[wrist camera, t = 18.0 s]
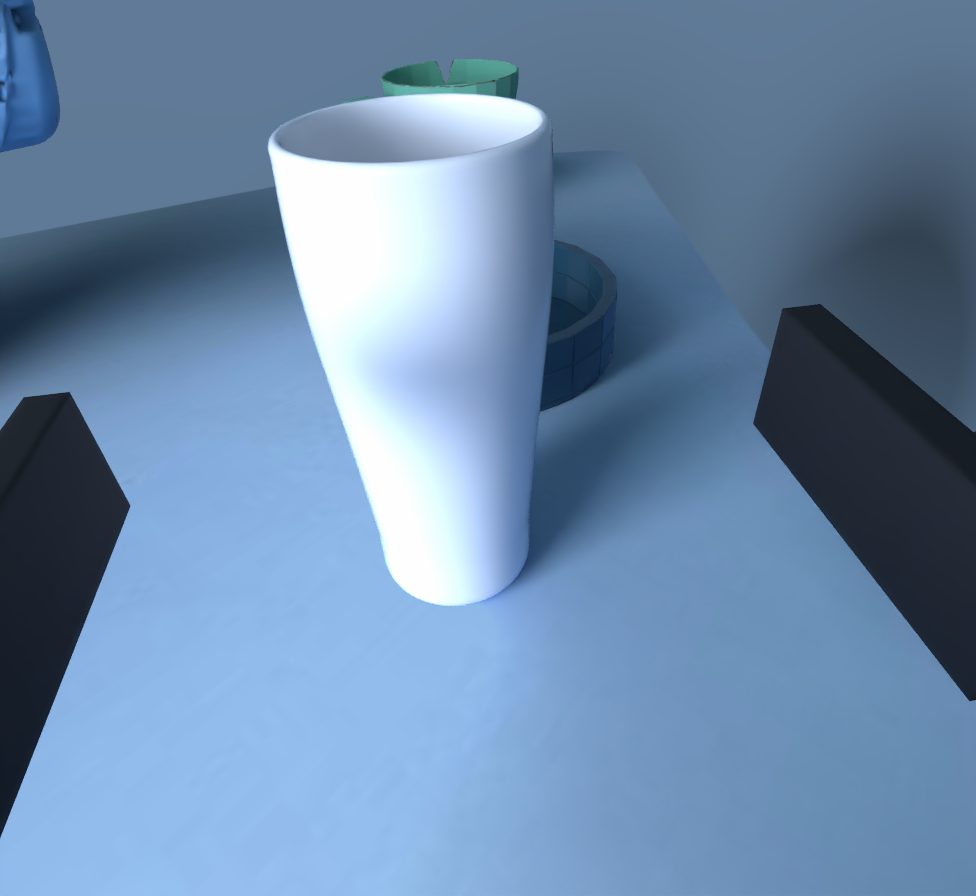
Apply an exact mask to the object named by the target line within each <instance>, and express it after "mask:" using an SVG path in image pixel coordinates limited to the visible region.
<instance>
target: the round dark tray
mask: <svg viewBox="0 0 976 896" xmlns="http://www.w3.org/2000/svg"><path fill="white" fill-rule="evenodd" d="M616 303H617V289H616V278H615V275H614V274H613V273H612V272H611V271H610V269H609V268H608V267H607V266H606V265H605V264H604V262H603V261H602V260H600V259H599V258H598V257H596V256H594V255H592V254H590V253H588V252H587V251H585V250H583V249H581V248H579V247H577V246H575V245H571V244H568V243H564V242H561V241H557V240H554V267H553V286H552V299H551V311H550V321H549V331H548V340H547V349H546V358H545V367H544V376H543V385H542V394H541V403H540V411H543V410H545V409H548V408H551V407H553V406H556V405H559V404H561V403H563V402H565V401H567V400H569V399H571V398H573V397H575V396H576V395H578V394H579V393H581V392H583V391H584V390H586V389H587V388H588V387H589V386H590V385H592V384H593V383H594V382H595V381H596V380H597V379H598V378H599V376H600V375H601V374H602V373H603V372H604V370H605V368H606V366H607V364H608V363H609V359H610V356H611V354H612V351H613V339H614V327H615V315H616Z"/></svg>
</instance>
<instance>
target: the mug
mask: <svg viewBox="0 0 976 896" xmlns="http://www.w3.org/2000/svg"><path fill="white" fill-rule="evenodd" d="M381 79H382V87H383V91H384V96H385V97H388V96H398V95H411V94H430V93H465V94H482V95H492V96H500V97H506V98H511V99H516V93H517V87H518V67H517V66H515V65H513V64H512V63H507V62H503V61H495V60H481V59H480V60H479V59H462V60H453V62H452V66H451V69H450V77H449V79H448V80H447V82H446V83H445V82H444V80H443V78H442V75H441V71H440V69H439V66H438V64H437V62H436V61H433V62H424V63H418V64H412V65H407V66H403V67H399V68H395V69H393V70H390V71H388V72H386V73H385V74H384V75H383V76H382V77H381ZM373 98H380V97H363V98H358V99H354V100H349V101H345V102H344V103H349V102H354V101H360V100H366V99H373ZM344 103H343V104H344Z"/></svg>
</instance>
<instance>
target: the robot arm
mask: <svg viewBox="0 0 976 896" xmlns="http://www.w3.org/2000/svg"><path fill="white" fill-rule="evenodd" d="M59 119H60V105H59V96H58V91H57V86H56V80H55V76H54V71H53V67H52V63H51V59H50V55H49V51H48V48H47V44H46V41H45V38H44V34H43V31H42V29H41V26H40V24H39V21H38V19H37V17H36V16H35V7H34V3H33V1H32V0H0V153H1V152H5V151H10V150H14V149H19V148H24V147H28V146H33V145H36V144H40V143H42V142H44V141H46V140H47V139H48V138H50V137H51V136H52V135H53V134H54V132H55V131H56V129H57V126H58V123H59ZM753 424H754V425H755V426H756V428H757V429H758V430H759V432H760V433H761V434H762V435H763V437H764V438H765V439H766V441H767V442H768V443H769V444H770V446H771V447H772V448H773V450H774V451H775V452H776V453H777V455H778V456H779V457H780V459H781V460H782V461H783V462H784V464H785V465H786V466H787V468H788V469H789V470H790V471H791V473H792V474H793V475H794V477H795V478H796V479H797V480H798V482H799V483H800V484H801V486H802V487H803V488H804V489H805V491H806V492H807V493H808V495H809V496H810V497H811V498H812V500H813V501H814V502H815V503H816V505H817V506H818V507H819V509H820V510H821V511H822V512H823V514H824V515H825V516H826V518H827V519H828V520H829V521H830V523H831V524H832V525H833V527H834V528H835V529H836V530H837V532H838V533H839V534H840V536H841V537H842V538H843V539H844V541H845V542H846V543H847V545H848V546H849V547H850V548H851V550H852V551H853V552H854V554H855V555H856V556H857V557H858V559H859V560H860V561H861V563H862V564H863V565H864V566H865V568H866V569H867V570H868V572H869V573H870V574H871V575H872V577H873V578H874V579H875V581H876V582H877V583H878V584H879V586H880V587H881V588H882V590H883V591H884V592H885V593H886V595H887V596H888V597H889V599H890V600H891V601H892V602H893V604H894V605H895V606H896V608H897V609H898V610H899V611H900V613H901V614H902V615H903V616H904V618H905V619H906V620H907V622H908V623H909V624H910V625H911V627H912V628H913V629H914V631H915V632H916V633H917V634H918V636H919V637H920V638H921V640H922V641H923V642H924V643H925V645H926V646H927V647H928V649H929V650H930V651H931V652H932V654H933V655H934V656H935V658H936V659H937V660H938V661H939V663H940V664H941V665H942V667H943V668H944V669H945V670H946V672H947V673H948V674H949V676H950V677H951V678H952V679H953V681H954V682H955V683H956V685H957V686H958V687H959V688H960V690H961V691H962V692H963V694H964V695H965V696H966V697H967V699H968V700H969V701H973V700H976V432H972V431H971V430H970V429H969V428H968V427H966V426H965V425H964V424H963V423H962V422H960V421H959V420H958V419H957V418H956V417H954V416H953V415H952V414H951V413H950V412H949V411H947V410H946V409H945V408H944V407H942V406H941V405H940V404H939V403H938V402H936V401H935V400H934V399H933V398H932V397H931V396H929V395H928V394H927V393H926V392H925V391H923V390H922V389H921V388H920V387H919V386H917V385H916V384H915V383H914V382H913V381H911V380H910V379H909V378H908V377H907V376H906V375H904V374H903V373H902V372H901V371H899V370H898V369H897V368H896V367H895V366H893V365H892V364H891V363H890V362H889V361H888V360H886V359H885V358H884V357H883V356H881V355H880V354H879V353H878V352H877V351H876V350H874V349H873V348H872V347H871V346H870V345H868V344H867V343H866V342H865V341H864V340H862V339H861V338H860V337H859V336H858V335H857V334H855V333H854V332H853V331H852V330H850V329H849V328H848V327H847V326H846V325H844V324H843V323H842V322H841V321H840V320H839V319H837V318H836V317H835V316H834V315H833V314H831V313H830V312H829V311H828V310H826V309H825V308H824V307H823V306H822V305H821V304H818V305H810V306H802V307H792V308H784V309H782V313H781V317H780V321H779V325H778V329H777V333H776V337H775V340H774V345H773V348H772V352H771V356H770V360H769V364H768V368H767V372H766V376H765V380H764V383H763V387H762V391H761V395H760V399H759V403H758V407H757V411H756V415H755V419H754V423H753ZM129 508H130V504H129V502H128V501H127V499H126V497H125V495H124V493H123V491H122V489H121V487H120V486H119V484H118V482H117V480H116V478H115V476H114V474H113V472H112V471H111V469H110V467H109V465H108V463H107V461H106V459H105V457H104V456H103V454H102V452H101V450H100V448H99V446H98V444H97V443H96V441H95V439H94V437H93V435H92V433H91V431H90V429H89V428H88V426H87V424H86V422H85V420H84V418H83V416H82V414H81V413H80V411H79V409H78V407H77V405H76V403H75V401H74V399H73V398H72V396H71V394H70V392H67V393H58V394H49V395H41V396H32V397H24V398H23V399H22V401H21V402H20V403H19V405H18V406H17V408H16V409H15V411H14V412H13V413H12V415H11V416H10V418H9V419H8V420H7V422H6V423H5V425H4V426H3V428H2V429H1V430H0V837H1V834H2V832H3V829H4V827H5V824H6V822H7V819H8V817H9V814H10V812H11V809H12V806H13V804H14V801H15V799H16V796H17V794H18V791H19V789H20V786H21V783H22V781H23V778H24V776H25V773H26V771H27V768H28V766H29V763H30V761H31V758H32V755H33V753H34V750H35V748H36V745H37V743H38V740H39V738H40V735H41V733H42V730H43V727H44V725H45V722H46V720H47V717H48V715H49V712H50V710H51V707H52V705H53V702H54V699H55V697H56V694H57V692H58V689H59V687H60V684H61V682H62V679H63V676H64V674H65V671H66V669H67V666H68V664H69V661H70V659H71V656H72V654H73V651H74V648H75V646H76V643H77V641H78V638H79V636H80V633H81V631H82V628H83V626H84V623H85V620H86V618H87V615H88V613H89V610H90V608H91V605H92V603H93V600H94V598H95V595H96V592H97V590H98V587H99V585H100V582H101V580H102V577H103V575H104V572H105V570H106V567H107V564H108V562H109V559H110V557H111V554H112V552H113V549H114V547H115V544H116V541H117V539H118V536H119V534H120V531H121V529H122V526H123V524H124V521H125V519H126V516H127V513H128V511H129Z"/></svg>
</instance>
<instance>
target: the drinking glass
mask: <svg viewBox="0 0 976 896" xmlns="http://www.w3.org/2000/svg"><path fill="white" fill-rule="evenodd" d="M268 152H269V156H270V160H271V166H272V171H273V177H274V182H275V188H276V193H277V198H278V204H279V209H280V214H281V219H282V223H283V228H284V233H285V237H286V242H287V246H288V250H289V254H290V259H291V263H292V267H293V271H294V274H295V278H296V282H297V286H298V290H299V293H300V297H301V300H302V304H303V307H304V311H305V314H306V317H307V321H308V324H309V327H310V330H311V333H312V336H313V339H314V342H315V345H316V348H317V351H318V354H319V357H320V360H321V363H322V366H323V369H324V372H325V375H326V378H327V381H328V383H329V386H330V389H331V392H332V395H333V398H334V401H335V404H336V407H337V409H338V412H339V415H340V418H341V421H342V424H343V427H344V430H345V432H346V435H347V438H348V441H349V444H350V447H351V450H352V453H353V456H354V459H355V462H356V465H357V468H358V471H359V474H360V476H361V479H362V482H363V485H364V488H365V491H366V494H367V497H368V500H369V503H370V506H371V509H372V512H373V515H374V518H375V522H376V525H377V528H378V531H379V535H380V540H381V544H382V549H383V553H384V558H385V561H386V565H387V567H388V569H389V572H390V574H391V575H392V577H393V578H394V580H395V581H396V582H397V583H398V585H399V586H400V587H401V588H403V589H404V590H405V591H406V592H408V593H409V594H411V595H412V596H414V597H416V598H418V599H420V600H422V601H425V602H428V603H432V604H436V605H443V606H462V605H469V604H474V603H477V602H481V601H484V600H486V599H489V598H491V597H493V596H495V595H496V594H498V593H500V592H501V591H502V590H504V589H505V588H506V587H508V586H509V585H510V584H511V583H512V582H513V581H514V580H515V579H516V577H517V576H518V575H519V573H520V572H521V570H522V568H523V566H524V564H525V562H526V559H527V555H528V550H529V511H530V500H531V490H532V480H533V469H534V460H535V450H536V440H537V431H538V422H539V412H540V403H541V394H542V385H543V376H544V367H545V358H546V349H547V340H548V331H549V321H550V311H551V299H552V286H553V267H554V225H555V215H554V168H553V143H552V122H551V120H550V118H549V116H548V115H547V114H546V112H544V111H543V110H542V109H540V108H538V107H536V106H535V105H532V104H530V103H527V102H524V101H520V100H516V99H511V98H506V97H500V96H492V95H482V94H465V93H430V94H411V95H398V96H388V97H380V98H373V99H366V100H360V101H354V102H349V103H344V104H339V105H335V106H331V107H327V108H323V109H319V110H316V111H313V112H310V113H307V114H304V115H301V116H299V117H297V118H294V119H292V120H290V121H288V122H286V123H284V124H283V125H282V126H280V127H279V128H277V129H276V130H275V131H274V132H273V134H272V135H271V136H270V139H269V141H268Z"/></svg>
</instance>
